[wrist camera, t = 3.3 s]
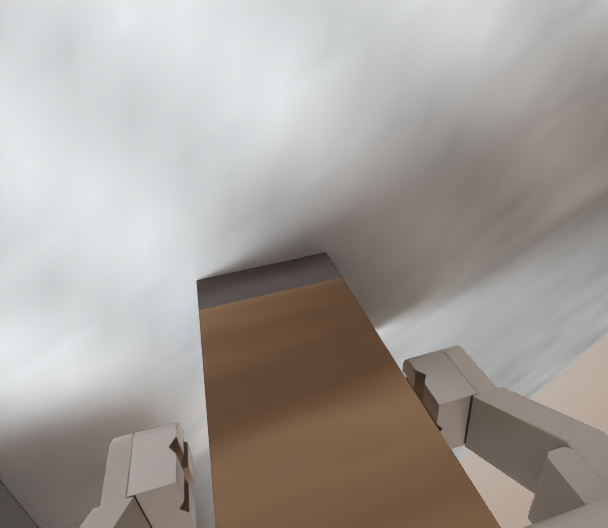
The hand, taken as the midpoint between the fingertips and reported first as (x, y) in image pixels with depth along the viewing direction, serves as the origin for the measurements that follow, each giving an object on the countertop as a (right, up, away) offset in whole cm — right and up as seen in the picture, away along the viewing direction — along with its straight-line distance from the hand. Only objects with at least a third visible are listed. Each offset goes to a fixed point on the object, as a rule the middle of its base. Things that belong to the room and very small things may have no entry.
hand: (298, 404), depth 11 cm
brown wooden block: (-1, +2, +3) cm, 4 cm away
